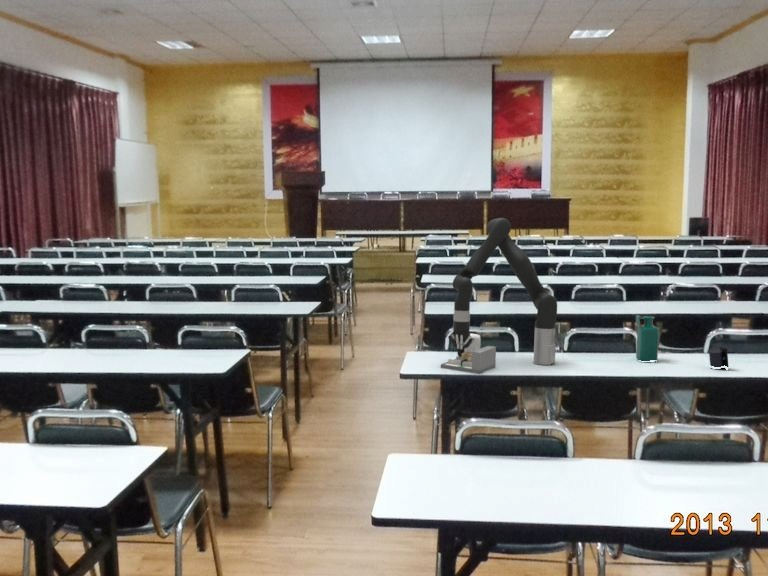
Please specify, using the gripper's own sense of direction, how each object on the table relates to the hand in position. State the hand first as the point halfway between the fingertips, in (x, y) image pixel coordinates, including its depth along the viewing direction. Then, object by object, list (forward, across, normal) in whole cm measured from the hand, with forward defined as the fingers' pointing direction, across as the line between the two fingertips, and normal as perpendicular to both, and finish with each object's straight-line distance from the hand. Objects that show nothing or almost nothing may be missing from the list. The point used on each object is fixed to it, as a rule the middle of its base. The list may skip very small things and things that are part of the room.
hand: (460, 356), depth 328 cm
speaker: (+4, -99, -66) cm, 119 cm away
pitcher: (+5, -67, -64) cm, 93 cm away
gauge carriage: (+3, -5, +3) cm, 6 cm away
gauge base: (+4, -4, 0) cm, 6 cm away
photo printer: (+5, +4, -17) cm, 18 cm away
